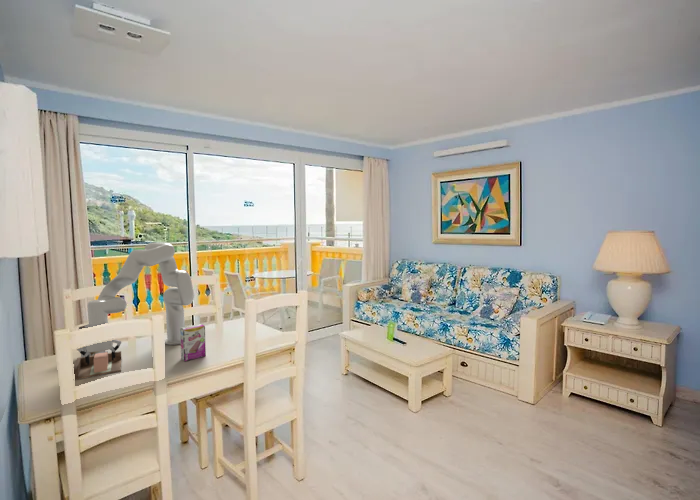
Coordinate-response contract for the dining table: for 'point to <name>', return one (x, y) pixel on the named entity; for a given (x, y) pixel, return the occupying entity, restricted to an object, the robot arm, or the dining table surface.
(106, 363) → the bar
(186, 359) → the candy bar box
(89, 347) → the robot arm
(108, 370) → the tray
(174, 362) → the dining table surface
